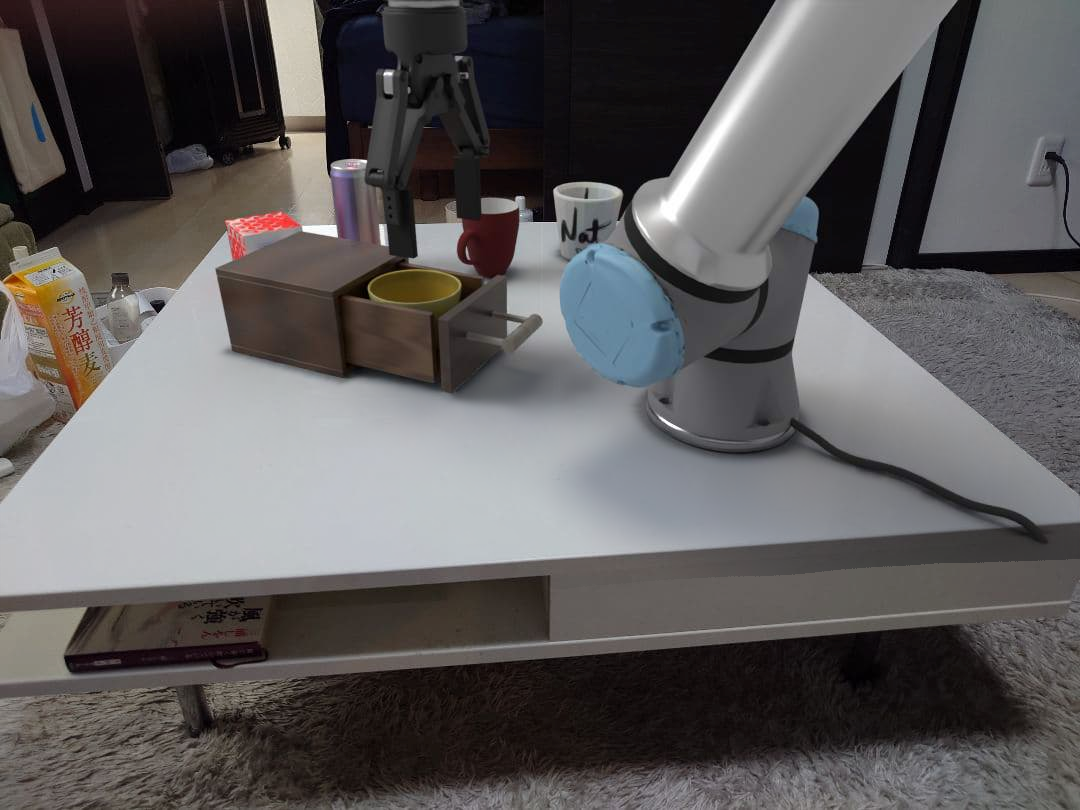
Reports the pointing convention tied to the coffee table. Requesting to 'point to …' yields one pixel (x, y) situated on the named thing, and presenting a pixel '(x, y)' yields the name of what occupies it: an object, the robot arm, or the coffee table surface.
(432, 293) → the yellow bowl
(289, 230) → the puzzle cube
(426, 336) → the drawer
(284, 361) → the cabinet
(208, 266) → the coffee table surface
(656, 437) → the coffee table surface
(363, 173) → the beverage can
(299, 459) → the coffee table surface
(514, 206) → the mug
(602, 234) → the mug
